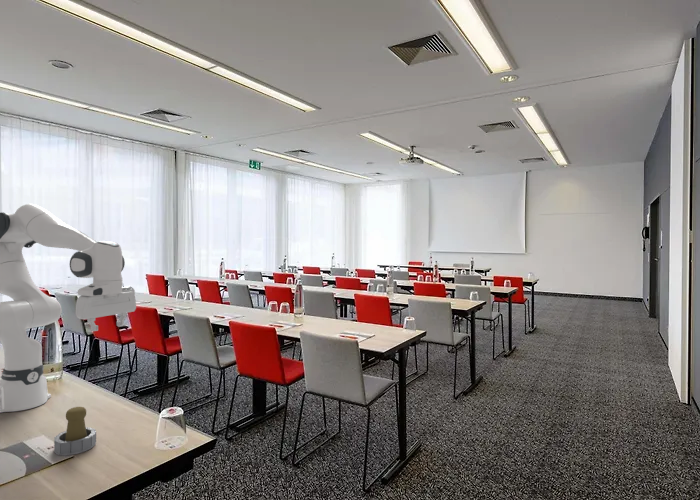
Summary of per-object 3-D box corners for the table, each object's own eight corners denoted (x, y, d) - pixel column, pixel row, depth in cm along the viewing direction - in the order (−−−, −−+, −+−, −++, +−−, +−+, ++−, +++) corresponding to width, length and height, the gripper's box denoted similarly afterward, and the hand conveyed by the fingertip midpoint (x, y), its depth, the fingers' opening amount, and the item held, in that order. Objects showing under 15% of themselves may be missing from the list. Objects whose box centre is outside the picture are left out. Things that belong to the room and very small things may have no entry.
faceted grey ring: (46, 450, 126) (46, 438, 126) (81, 436, 135) (81, 424, 135) (68, 458, 121) (68, 446, 121) (103, 443, 131) (103, 431, 131)
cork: (75, 451, 124) (75, 413, 124) (58, 448, 126) (58, 410, 126) (92, 441, 130) (92, 405, 130) (76, 439, 132) (76, 403, 132)
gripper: (128, 285, 159) (128, 322, 159) (72, 290, 140) (72, 332, 141) (140, 286, 156) (140, 324, 157) (85, 291, 138) (85, 334, 138)
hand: (107, 328), depth 148 cm, fingers open, 8 cm apart
